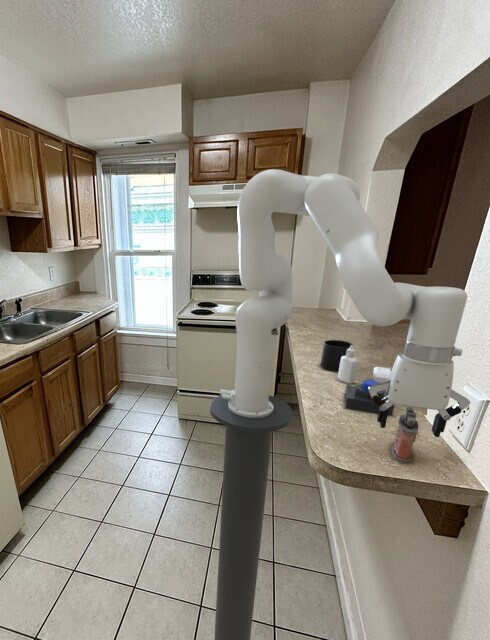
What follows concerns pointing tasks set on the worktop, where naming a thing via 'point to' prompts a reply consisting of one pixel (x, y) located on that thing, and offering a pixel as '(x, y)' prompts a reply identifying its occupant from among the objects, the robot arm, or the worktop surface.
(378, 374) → the soap bar
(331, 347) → the mug
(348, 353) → the eye dropper bottle
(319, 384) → the worktop surface
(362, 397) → the button housing
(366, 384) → the blue button cap
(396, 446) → the lighter
